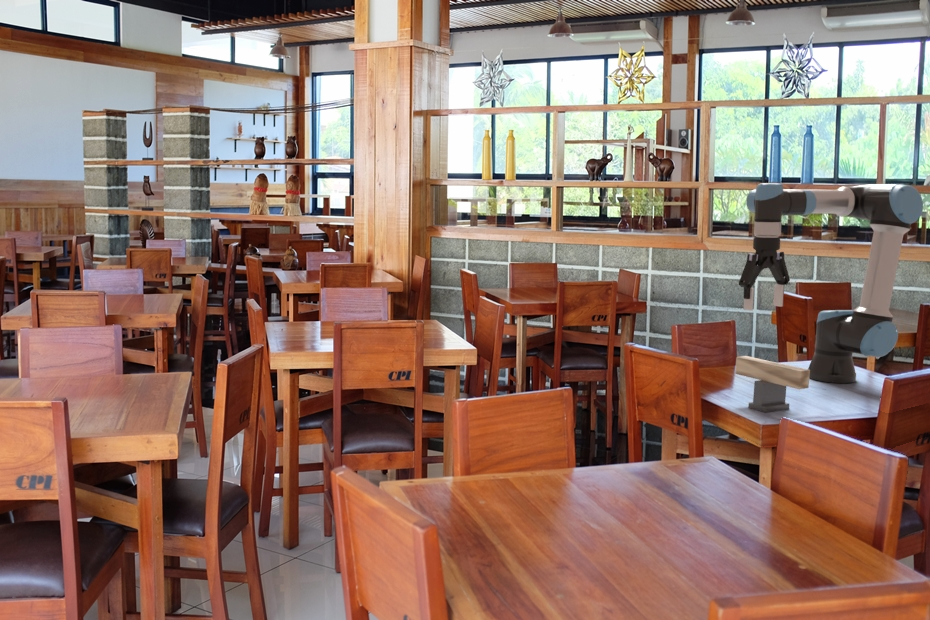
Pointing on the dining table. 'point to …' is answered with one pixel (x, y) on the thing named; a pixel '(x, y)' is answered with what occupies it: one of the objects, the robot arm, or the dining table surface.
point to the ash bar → (772, 372)
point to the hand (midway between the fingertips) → (763, 308)
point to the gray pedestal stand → (768, 397)
